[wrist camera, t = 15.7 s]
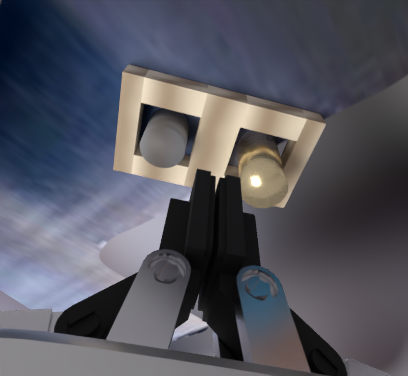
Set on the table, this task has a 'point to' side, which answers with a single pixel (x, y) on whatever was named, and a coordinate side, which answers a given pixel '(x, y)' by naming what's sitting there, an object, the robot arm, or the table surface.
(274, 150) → the gold metallic cylinder
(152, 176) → the jig
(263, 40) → the table surface
